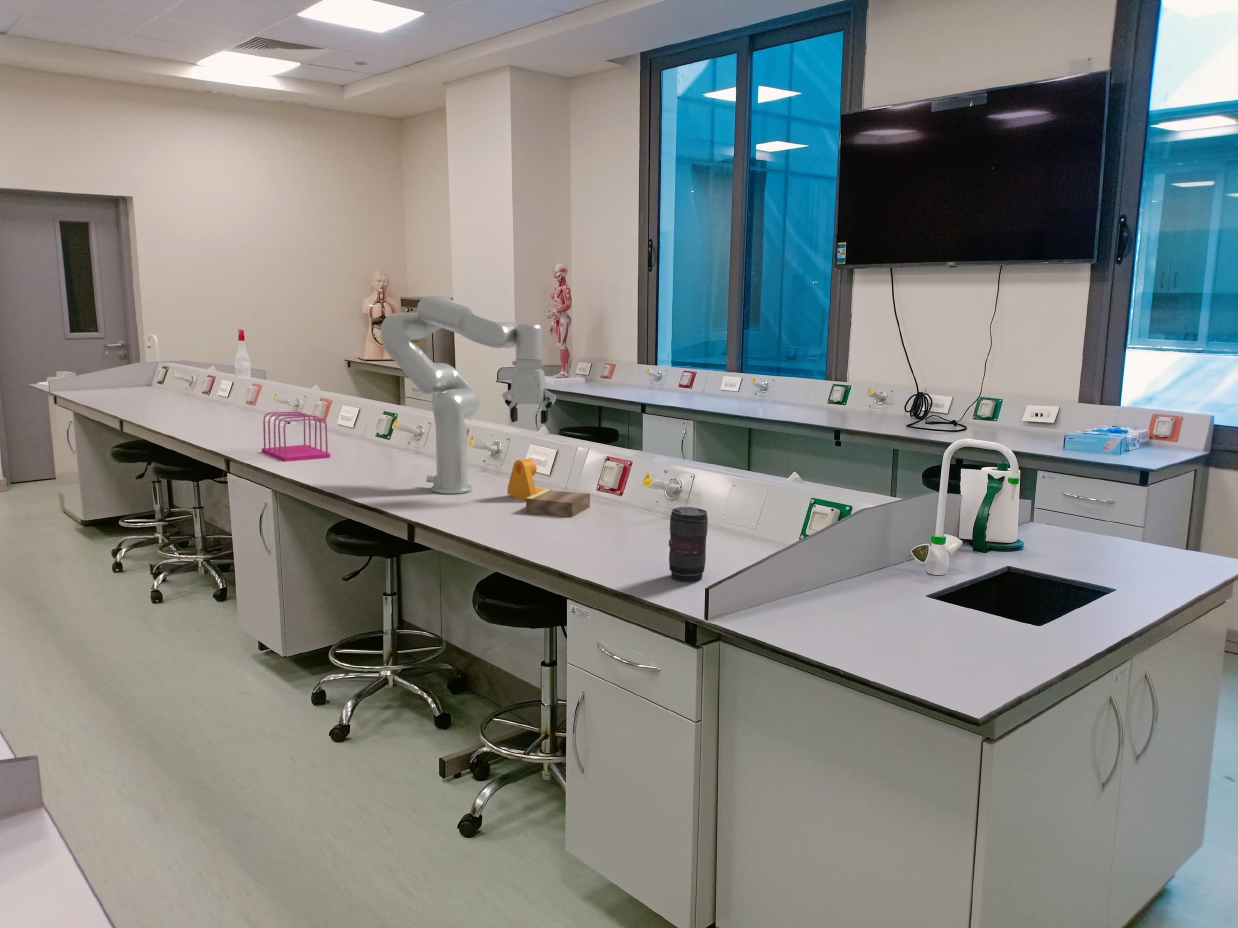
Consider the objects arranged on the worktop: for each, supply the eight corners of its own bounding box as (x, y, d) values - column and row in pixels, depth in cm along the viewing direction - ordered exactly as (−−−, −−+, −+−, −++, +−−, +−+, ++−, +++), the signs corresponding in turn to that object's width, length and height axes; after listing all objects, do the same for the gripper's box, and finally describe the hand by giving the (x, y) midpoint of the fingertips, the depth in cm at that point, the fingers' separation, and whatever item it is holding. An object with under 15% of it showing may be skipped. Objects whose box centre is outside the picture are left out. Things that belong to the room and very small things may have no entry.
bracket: (548, 499, 274) (549, 460, 272) (530, 502, 269) (530, 462, 267) (525, 493, 282) (525, 455, 280) (507, 496, 276) (507, 458, 274)
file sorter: (306, 449, 358) (304, 409, 356) (330, 457, 339) (329, 416, 336) (261, 452, 347) (259, 412, 345) (284, 462, 328) (282, 419, 326)
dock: (526, 512, 255) (526, 497, 254) (545, 502, 268) (545, 489, 268) (572, 517, 251) (572, 502, 250) (589, 507, 264) (590, 493, 263)
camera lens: (675, 584, 191) (678, 515, 189) (663, 573, 199) (665, 507, 196) (711, 582, 193) (714, 513, 191) (697, 571, 201) (699, 505, 198)
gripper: (497, 365, 268) (497, 422, 271) (551, 367, 262) (550, 425, 265) (508, 364, 275) (508, 419, 278) (560, 365, 269) (560, 422, 272)
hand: (529, 422), depth 271 cm, fingers open, 9 cm apart
